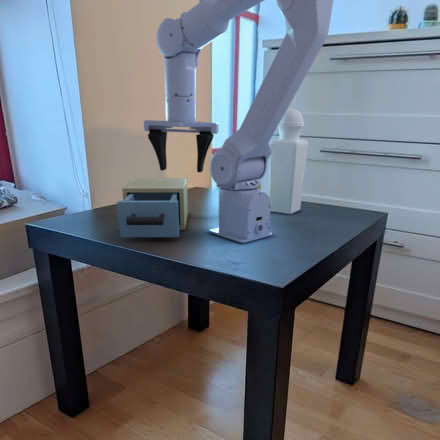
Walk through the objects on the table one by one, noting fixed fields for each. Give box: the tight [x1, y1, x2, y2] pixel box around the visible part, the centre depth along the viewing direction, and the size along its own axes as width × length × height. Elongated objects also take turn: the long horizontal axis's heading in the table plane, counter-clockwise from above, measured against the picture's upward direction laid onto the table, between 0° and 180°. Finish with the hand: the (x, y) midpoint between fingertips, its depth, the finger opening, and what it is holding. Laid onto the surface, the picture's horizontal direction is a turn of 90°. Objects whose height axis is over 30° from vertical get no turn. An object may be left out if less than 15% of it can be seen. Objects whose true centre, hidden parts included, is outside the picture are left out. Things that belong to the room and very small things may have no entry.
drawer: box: [116, 193, 180, 238], centre depth 77 cm, size 17×10×6 cm, turn 2°
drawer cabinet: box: [121, 176, 189, 231], centre depth 87 cm, size 14×12×8 cm
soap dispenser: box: [268, 108, 309, 215], centre depth 94 cm, size 6×6×22 cm
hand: (181, 170), depth 84 cm, fingers open, 7 cm apart
